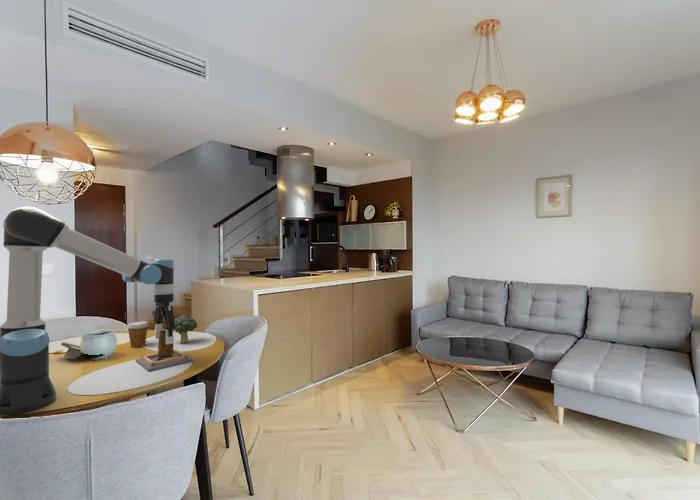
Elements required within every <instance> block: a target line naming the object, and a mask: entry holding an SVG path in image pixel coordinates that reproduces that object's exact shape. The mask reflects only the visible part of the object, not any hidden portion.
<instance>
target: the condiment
mask: <svg viewBox="0 0 700 500" xmlns="http://www.w3.org/2000/svg"><path fill="white" fill-rule="evenodd" d="M174 337H175V336H174V335H173V341H174V340H175V339H174ZM157 342H158V347H157V353H158V357H157V358H155V359H164V358H172V357H174V356H173V350H174V342H173V343H172V344H167V345H166V330H163V329H162V331H160V336H159V338H158V341H157Z"/></svg>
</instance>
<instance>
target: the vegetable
mask: <svg viewBox="0 0 700 500" xmlns="http://www.w3.org/2000/svg"><path fill="white" fill-rule="evenodd" d="M174 321H175V328H173V331H175V333H177V334H179V335H180V341H179V343H180V344H185V343H188V342H189V336H188V333H189V332H193V331H194V329H196V328H198V326H197V325H198V323H197V321H196V320H195V319H194V317H191V316H189V315H185V314H182V315H180V316H179V317H176V318H174ZM188 331H189V332H188Z"/></svg>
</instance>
